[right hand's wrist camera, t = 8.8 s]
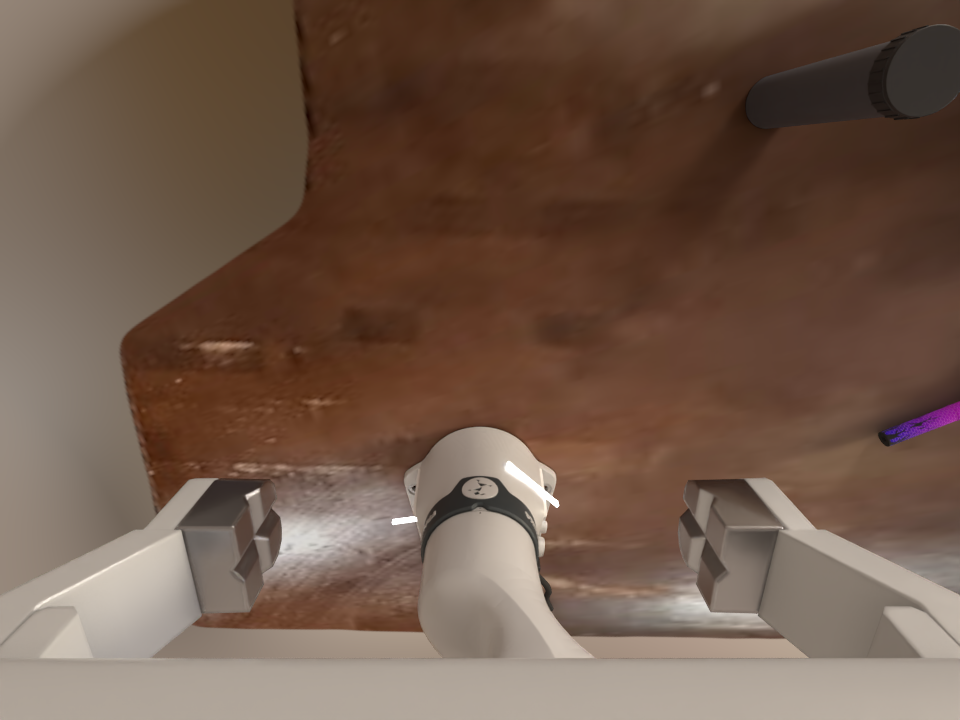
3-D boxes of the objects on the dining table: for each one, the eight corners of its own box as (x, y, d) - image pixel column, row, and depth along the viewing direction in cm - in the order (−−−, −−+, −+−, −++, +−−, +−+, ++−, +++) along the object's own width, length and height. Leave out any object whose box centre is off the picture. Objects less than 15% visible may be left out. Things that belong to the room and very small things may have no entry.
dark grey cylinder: (774, 63, 50) (936, 11, 32) (804, 100, 51) (976, 69, 34) (735, 104, 51) (870, 76, 34) (765, 139, 53) (910, 130, 35)
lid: (921, 9, 33) (944, 1, 32) (965, 72, 35) (989, 68, 33) (850, 79, 35) (868, 75, 33) (894, 137, 36) (914, 136, 34)
